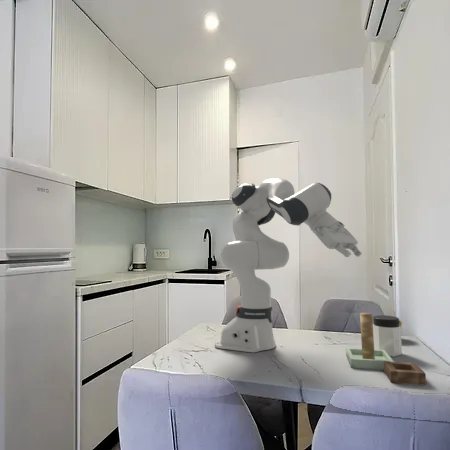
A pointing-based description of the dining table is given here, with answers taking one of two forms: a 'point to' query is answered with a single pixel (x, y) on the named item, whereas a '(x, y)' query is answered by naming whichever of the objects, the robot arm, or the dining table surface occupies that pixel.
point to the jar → (387, 334)
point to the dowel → (367, 336)
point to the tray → (357, 361)
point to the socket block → (404, 373)
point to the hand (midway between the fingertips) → (354, 255)
